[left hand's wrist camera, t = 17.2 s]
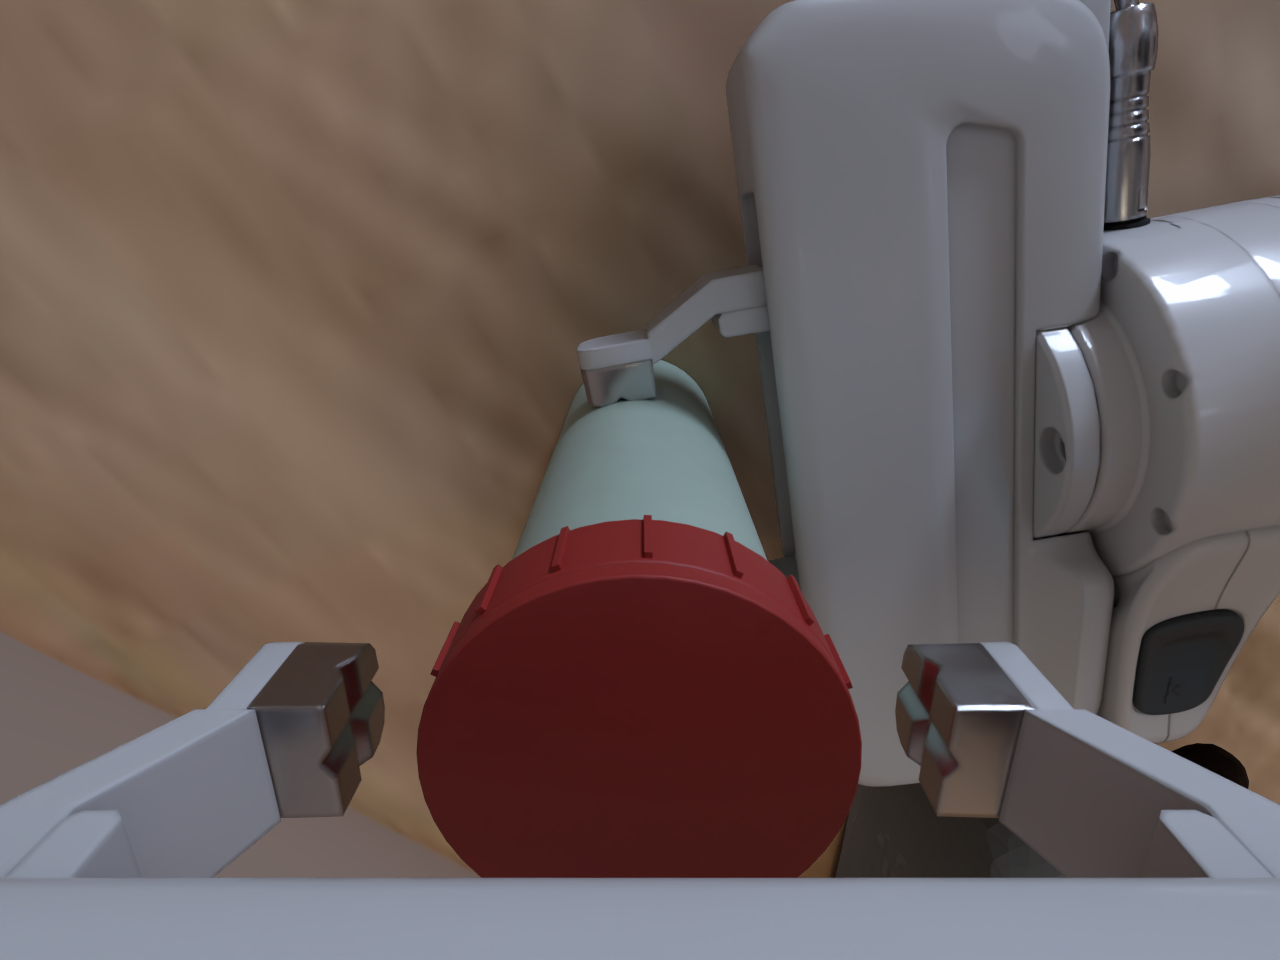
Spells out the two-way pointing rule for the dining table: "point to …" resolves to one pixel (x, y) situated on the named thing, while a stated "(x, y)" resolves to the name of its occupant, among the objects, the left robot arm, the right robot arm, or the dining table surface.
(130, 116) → the dining table surface
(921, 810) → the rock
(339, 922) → the left robot arm
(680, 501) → the jar
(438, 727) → the lid
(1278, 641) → the dining table surface
